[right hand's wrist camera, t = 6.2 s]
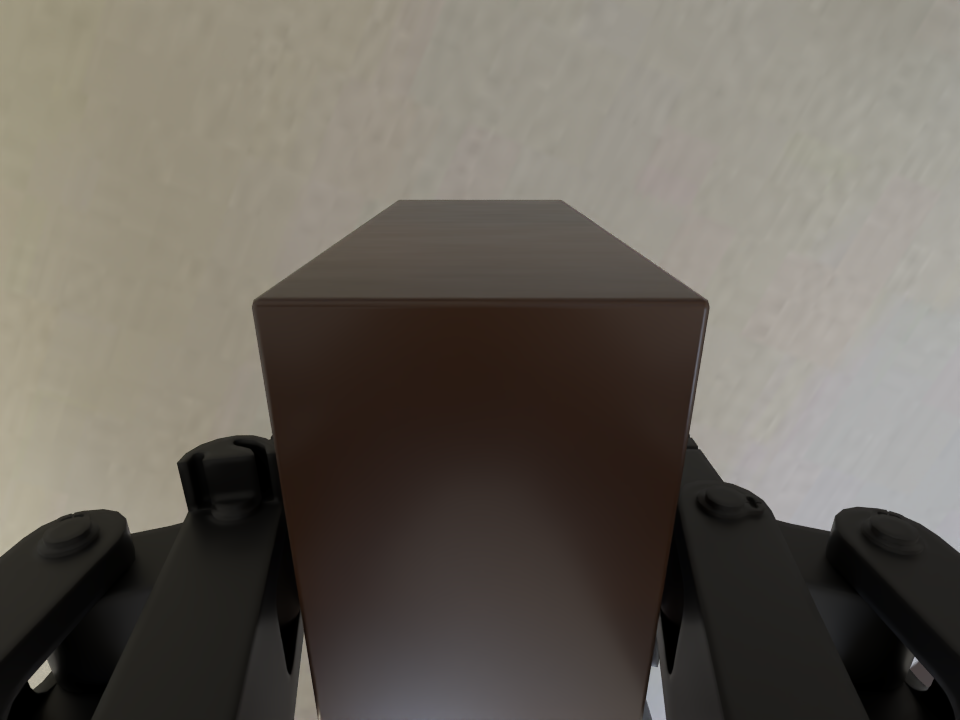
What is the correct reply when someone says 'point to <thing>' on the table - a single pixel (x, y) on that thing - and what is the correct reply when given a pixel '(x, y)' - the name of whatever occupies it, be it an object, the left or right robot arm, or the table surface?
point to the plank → (480, 460)
